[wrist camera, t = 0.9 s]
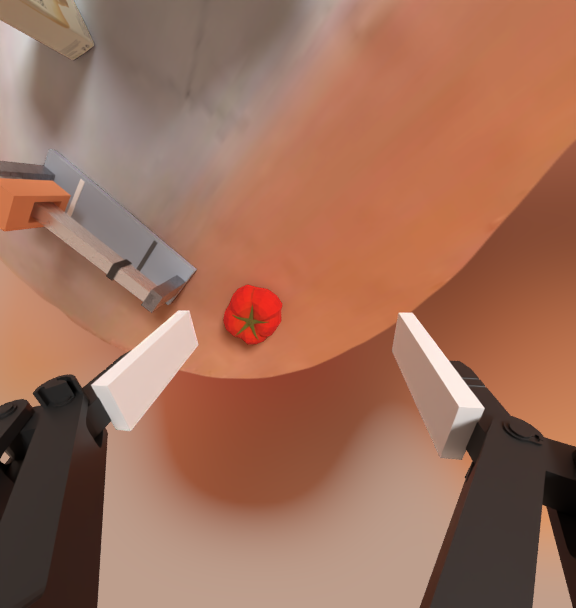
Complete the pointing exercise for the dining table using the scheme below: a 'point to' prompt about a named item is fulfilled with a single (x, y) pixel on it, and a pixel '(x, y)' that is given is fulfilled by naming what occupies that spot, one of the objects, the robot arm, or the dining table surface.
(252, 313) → the tomato
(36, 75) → the dining table surface
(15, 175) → the rail
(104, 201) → the board
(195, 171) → the dining table surface
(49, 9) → the skincare box
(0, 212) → the collar
